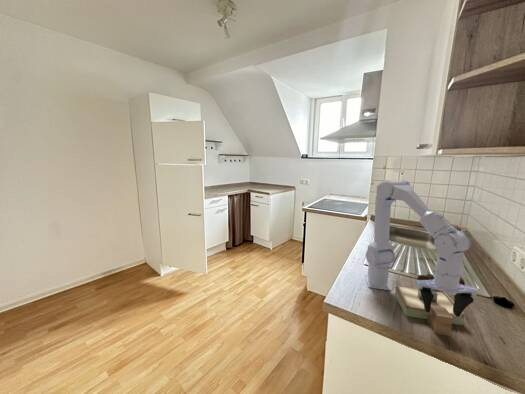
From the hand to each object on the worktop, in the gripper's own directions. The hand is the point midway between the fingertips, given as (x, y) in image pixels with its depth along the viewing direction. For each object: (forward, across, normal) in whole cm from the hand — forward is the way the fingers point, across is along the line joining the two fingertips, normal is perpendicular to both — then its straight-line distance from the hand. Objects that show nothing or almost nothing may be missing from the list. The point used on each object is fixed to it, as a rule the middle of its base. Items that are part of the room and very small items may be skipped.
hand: (441, 312), depth 68 cm
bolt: (+6, +11, +27) cm, 30 cm away
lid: (+3, 0, +10) cm, 10 cm away
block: (+6, 0, 0) cm, 6 cm away
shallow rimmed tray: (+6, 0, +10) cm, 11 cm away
